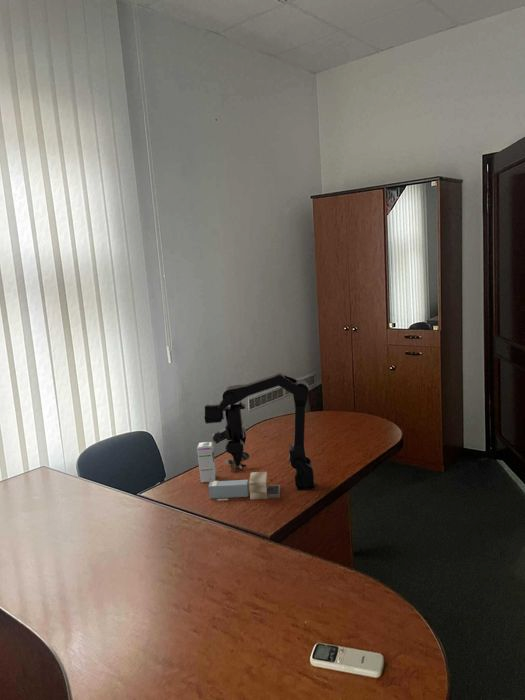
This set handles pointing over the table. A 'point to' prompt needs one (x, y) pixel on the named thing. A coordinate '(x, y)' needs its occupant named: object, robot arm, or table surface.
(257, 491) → the tunnel
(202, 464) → the syrup box
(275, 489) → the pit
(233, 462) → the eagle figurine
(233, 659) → the table surface
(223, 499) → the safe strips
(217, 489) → the grey rectangular block
